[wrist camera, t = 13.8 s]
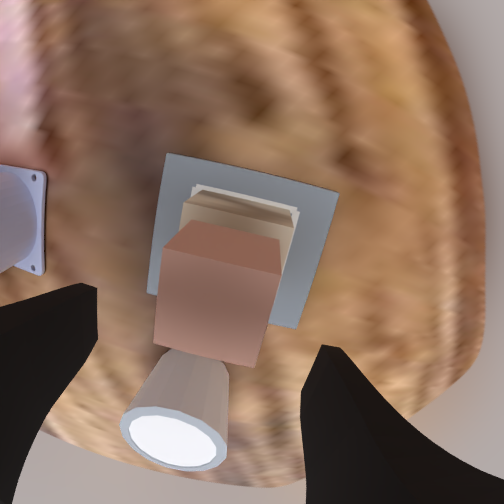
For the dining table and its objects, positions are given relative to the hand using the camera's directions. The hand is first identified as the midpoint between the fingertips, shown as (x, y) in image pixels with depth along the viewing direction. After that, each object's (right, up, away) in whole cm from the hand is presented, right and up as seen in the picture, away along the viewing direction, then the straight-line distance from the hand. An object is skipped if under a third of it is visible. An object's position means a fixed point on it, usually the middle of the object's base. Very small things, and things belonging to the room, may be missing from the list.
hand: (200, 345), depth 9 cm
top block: (0, +2, +5) cm, 6 cm away
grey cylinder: (-3, -7, +14) cm, 15 cm away
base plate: (+1, +3, +10) cm, 10 cm away
